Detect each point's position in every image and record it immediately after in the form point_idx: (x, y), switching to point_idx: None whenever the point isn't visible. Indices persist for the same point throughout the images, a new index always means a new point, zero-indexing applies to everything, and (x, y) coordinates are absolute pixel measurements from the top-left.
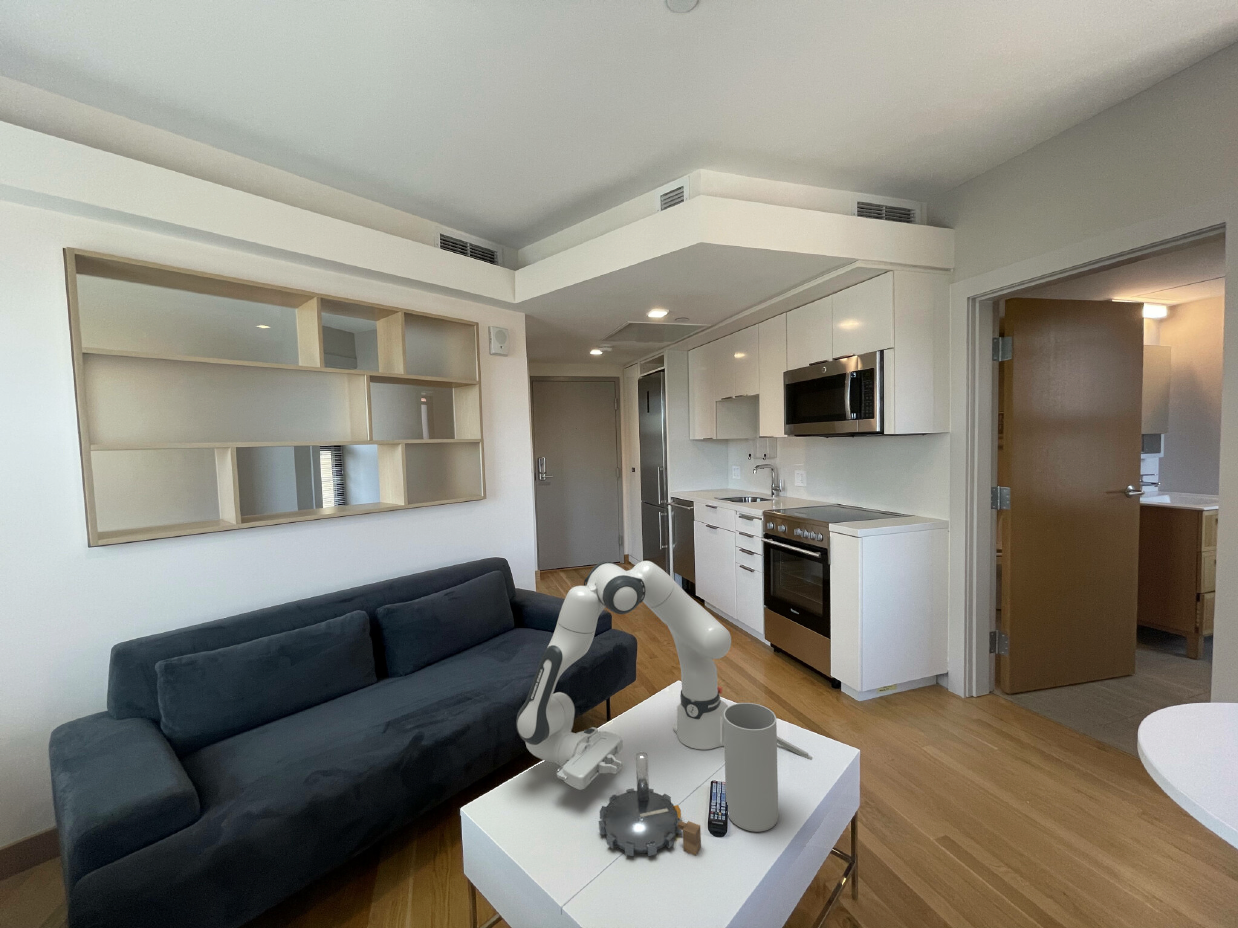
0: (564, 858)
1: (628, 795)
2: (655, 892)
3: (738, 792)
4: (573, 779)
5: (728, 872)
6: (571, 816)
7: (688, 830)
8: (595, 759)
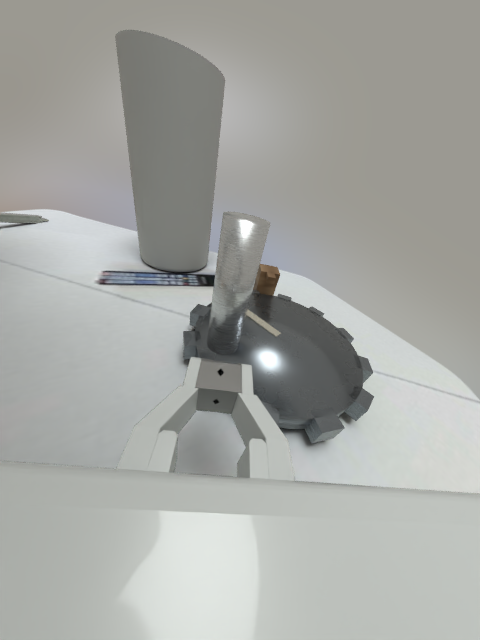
0: (472, 468)
1: None
2: (341, 315)
3: (210, 218)
4: None
5: None
6: None
7: (277, 271)
8: (309, 541)
